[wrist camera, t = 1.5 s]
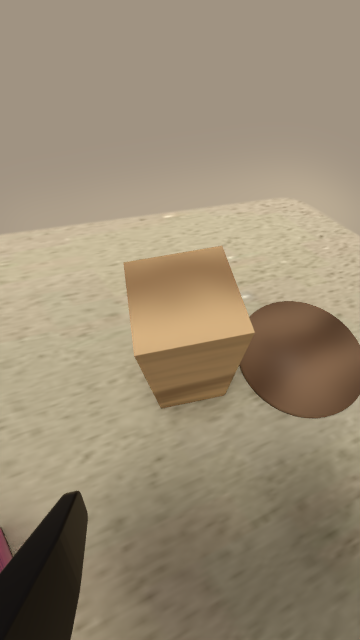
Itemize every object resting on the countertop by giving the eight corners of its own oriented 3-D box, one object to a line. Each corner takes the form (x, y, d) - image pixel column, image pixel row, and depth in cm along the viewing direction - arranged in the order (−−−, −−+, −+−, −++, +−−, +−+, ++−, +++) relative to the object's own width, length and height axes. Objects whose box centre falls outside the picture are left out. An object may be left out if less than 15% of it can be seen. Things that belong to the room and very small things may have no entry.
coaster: (383, 350, 24) (387, 348, 23) (324, 449, 20) (327, 449, 19) (278, 286, 28) (280, 283, 27) (212, 358, 24) (213, 356, 23)
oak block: (224, 395, 22) (255, 332, 12) (161, 408, 22) (134, 355, 11) (208, 338, 25) (222, 245, 14) (152, 349, 25) (123, 262, 14)
